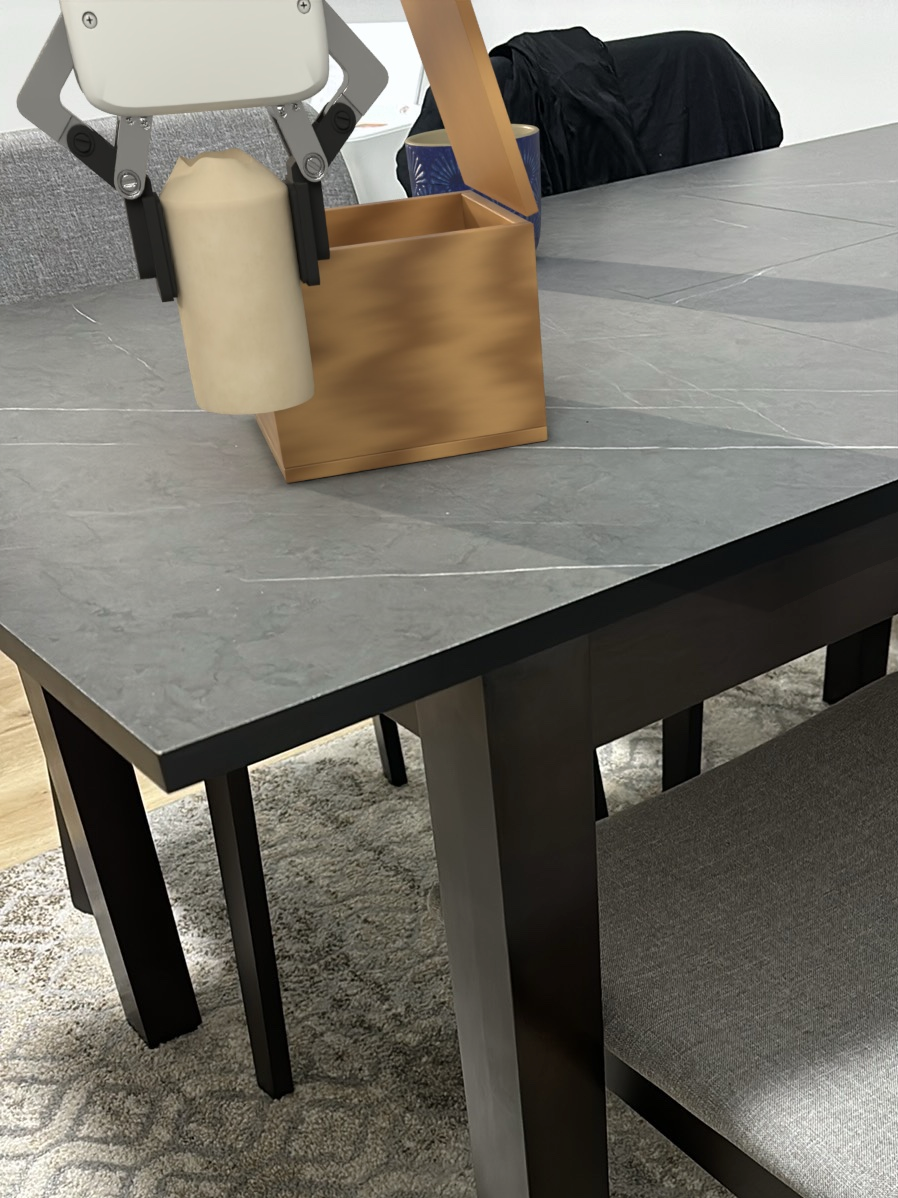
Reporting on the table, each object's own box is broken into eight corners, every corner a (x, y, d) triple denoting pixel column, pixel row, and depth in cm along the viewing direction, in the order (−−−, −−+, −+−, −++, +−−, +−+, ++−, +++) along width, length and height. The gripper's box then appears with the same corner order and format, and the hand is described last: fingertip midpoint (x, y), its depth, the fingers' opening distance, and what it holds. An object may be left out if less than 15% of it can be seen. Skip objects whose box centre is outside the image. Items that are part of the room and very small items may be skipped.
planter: (408, 261, 138) (393, 134, 131) (528, 245, 140) (519, 119, 133) (433, 284, 128) (418, 149, 121) (562, 267, 130) (554, 133, 123)
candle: (307, 413, 62) (272, 158, 56) (185, 419, 62) (137, 165, 56) (322, 380, 67) (290, 140, 60) (208, 385, 67) (165, 146, 61)
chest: (286, 483, 85) (246, 261, 77) (255, 420, 96) (218, 222, 89) (548, 440, 88) (533, 223, 81) (488, 384, 100) (470, 189, 92)
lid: (405, -151, 69) (495, -194, 69) (352, -136, 81) (429, -173, 81) (527, 217, 80) (604, 180, 80) (464, 184, 92) (532, 151, 92)
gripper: (362, -248, 55) (409, 253, 66) (-90, -234, 52) (38, 292, 63) (402, -270, 49) (445, 283, 60) (-104, -256, 46) (39, 329, 57)
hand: (237, 283), depth 61 cm, fingers closed on candle, 5 cm apart
